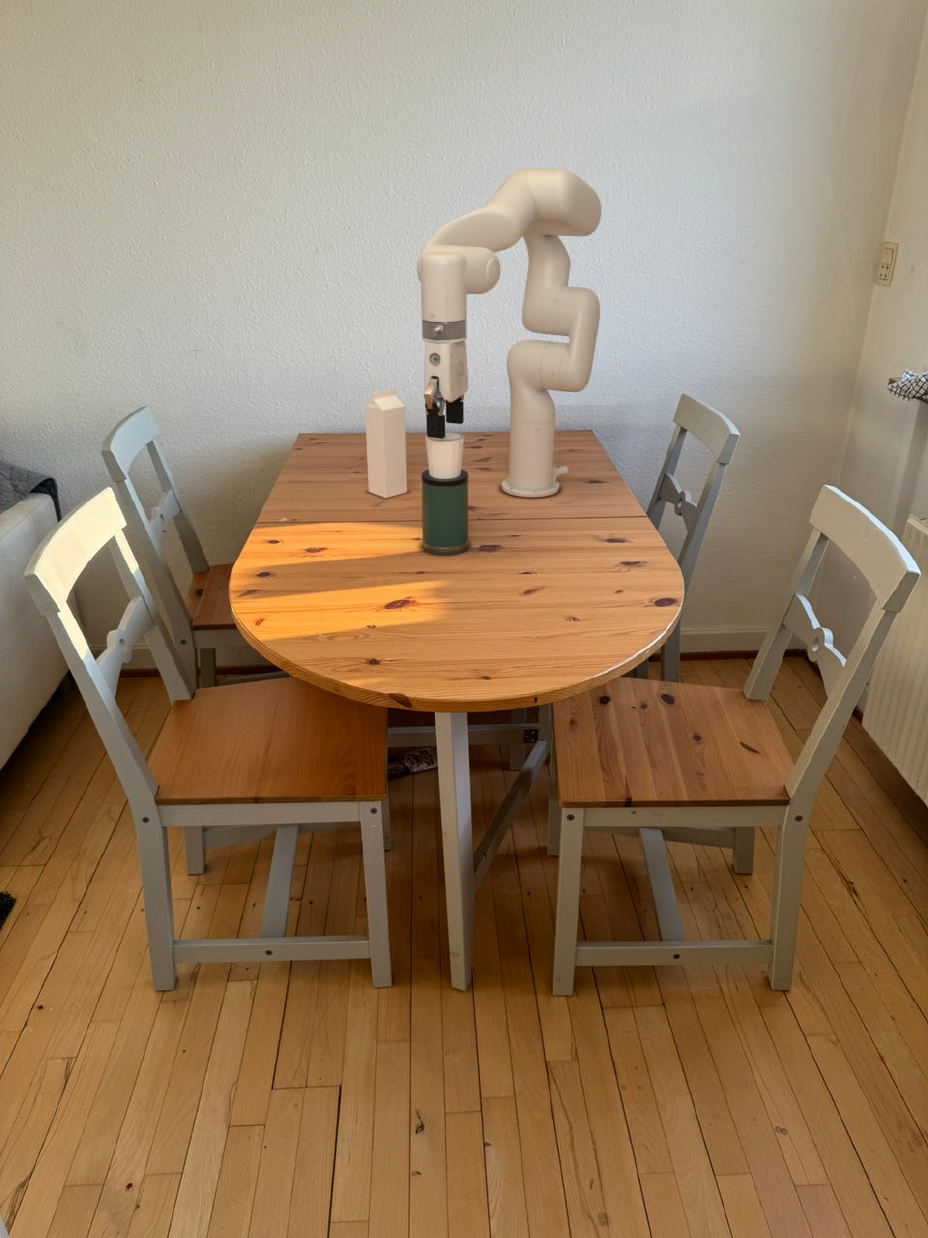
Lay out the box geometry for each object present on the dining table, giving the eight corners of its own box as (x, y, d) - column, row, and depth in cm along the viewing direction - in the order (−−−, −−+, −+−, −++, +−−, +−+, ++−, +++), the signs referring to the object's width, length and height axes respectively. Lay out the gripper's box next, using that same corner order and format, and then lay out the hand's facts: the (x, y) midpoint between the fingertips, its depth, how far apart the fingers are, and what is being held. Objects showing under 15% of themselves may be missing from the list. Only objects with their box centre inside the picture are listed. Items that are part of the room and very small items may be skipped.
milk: (407, 492, 204) (405, 390, 194) (385, 498, 200) (382, 394, 191) (389, 485, 208) (387, 385, 198) (367, 491, 204) (363, 389, 195)
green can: (449, 535, 181) (449, 464, 175) (477, 548, 175) (478, 475, 169) (413, 545, 176) (412, 472, 170) (440, 558, 170) (439, 484, 164)
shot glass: (469, 470, 172) (469, 432, 168) (456, 481, 166) (456, 442, 163) (433, 466, 174) (433, 429, 170) (420, 477, 168) (419, 438, 165)
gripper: (448, 340, 150) (449, 445, 158) (481, 322, 165) (480, 419, 173) (404, 338, 152) (407, 441, 160) (440, 320, 167) (442, 416, 175)
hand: (445, 430), depth 166 cm, fingers open, 9 cm apart
